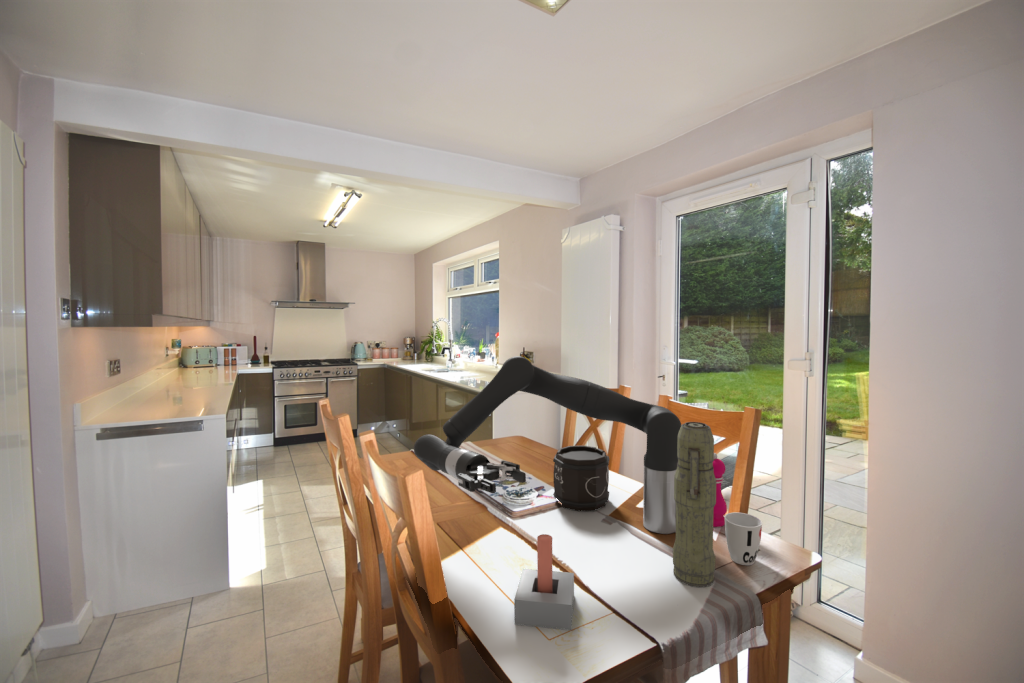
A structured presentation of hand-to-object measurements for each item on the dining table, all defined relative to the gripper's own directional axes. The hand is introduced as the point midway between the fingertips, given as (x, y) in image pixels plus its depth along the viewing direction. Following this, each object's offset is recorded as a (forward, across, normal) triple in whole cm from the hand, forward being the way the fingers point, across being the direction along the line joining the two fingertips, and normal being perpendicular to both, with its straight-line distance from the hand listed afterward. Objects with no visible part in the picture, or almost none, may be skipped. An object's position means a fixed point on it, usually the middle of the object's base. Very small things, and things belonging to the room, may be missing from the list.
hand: (510, 483), depth 103 cm
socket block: (+10, -1, +23) cm, 26 cm away
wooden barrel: (-21, +46, +24) cm, 56 cm away
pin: (+10, -1, +23) cm, 26 cm away
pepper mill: (+14, +62, +25) cm, 68 cm away
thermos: (+24, +33, +25) cm, 48 cm away
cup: (+28, +48, +25) cm, 61 cm away
